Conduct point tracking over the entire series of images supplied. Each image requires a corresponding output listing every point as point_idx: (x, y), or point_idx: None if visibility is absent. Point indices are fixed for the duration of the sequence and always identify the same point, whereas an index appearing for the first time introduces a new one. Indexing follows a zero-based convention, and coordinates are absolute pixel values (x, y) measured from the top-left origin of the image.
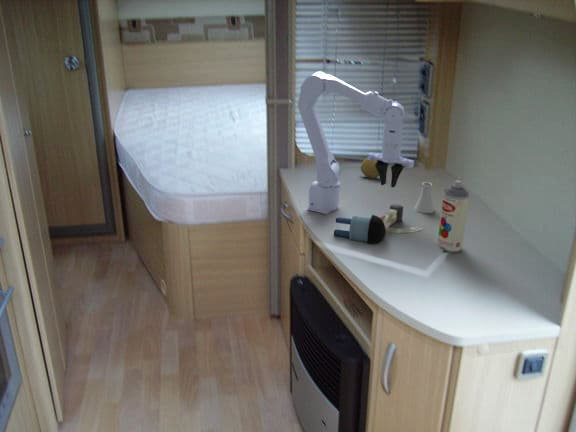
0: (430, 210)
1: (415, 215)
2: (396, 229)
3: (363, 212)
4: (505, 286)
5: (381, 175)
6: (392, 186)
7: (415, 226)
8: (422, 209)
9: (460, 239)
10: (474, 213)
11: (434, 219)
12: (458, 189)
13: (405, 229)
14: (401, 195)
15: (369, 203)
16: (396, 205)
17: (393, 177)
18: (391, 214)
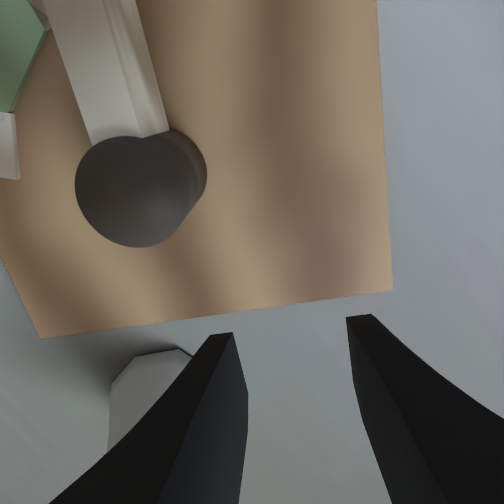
0: (113, 401)
1: (176, 342)
2: (36, 15)
3: (430, 179)
4: None
5: (410, 397)
6: (211, 337)
7: (10, 168)
8: (141, 384)
9: None
10: (34, 501)
11: (82, 358)
12: None
13: (6, 71)
14: (380, 494)
15: (469, 323)
16: (152, 220)
17: (156, 430)
18: (46, 11)
